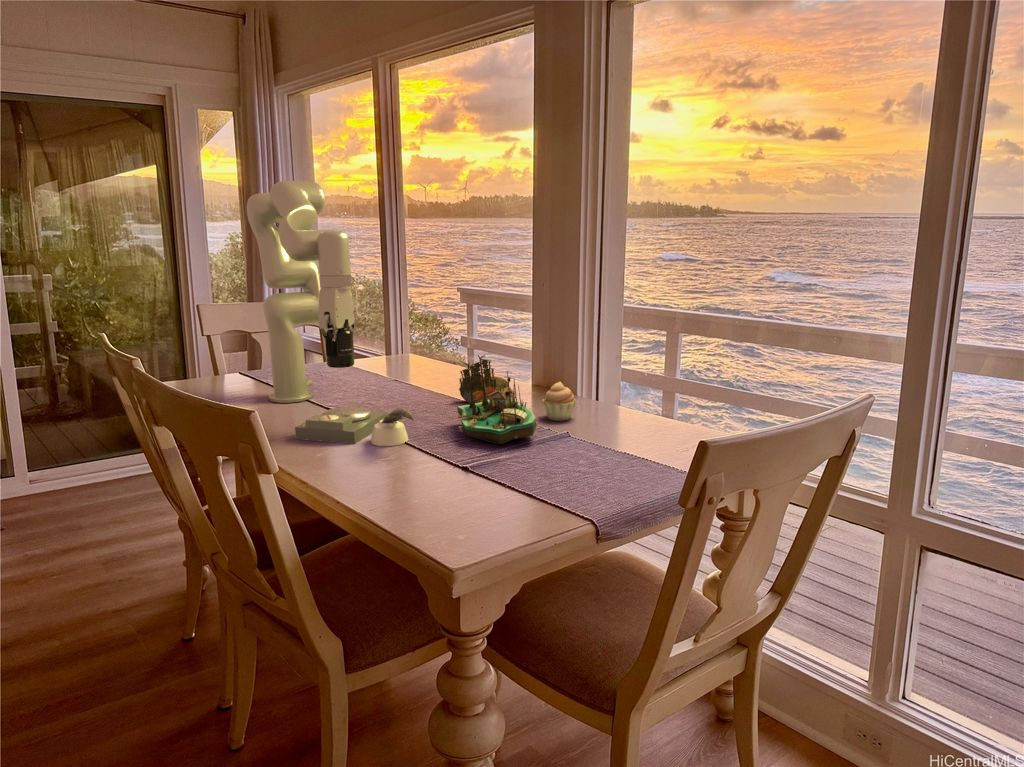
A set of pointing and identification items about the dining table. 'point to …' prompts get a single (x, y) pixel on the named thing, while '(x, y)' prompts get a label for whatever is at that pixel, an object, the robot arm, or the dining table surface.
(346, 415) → the scale pan
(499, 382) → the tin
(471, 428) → the diorama
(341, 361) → the supplement bottle
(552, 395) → the cupcake
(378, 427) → the inkwell
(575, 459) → the dining table surface
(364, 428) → the scale
